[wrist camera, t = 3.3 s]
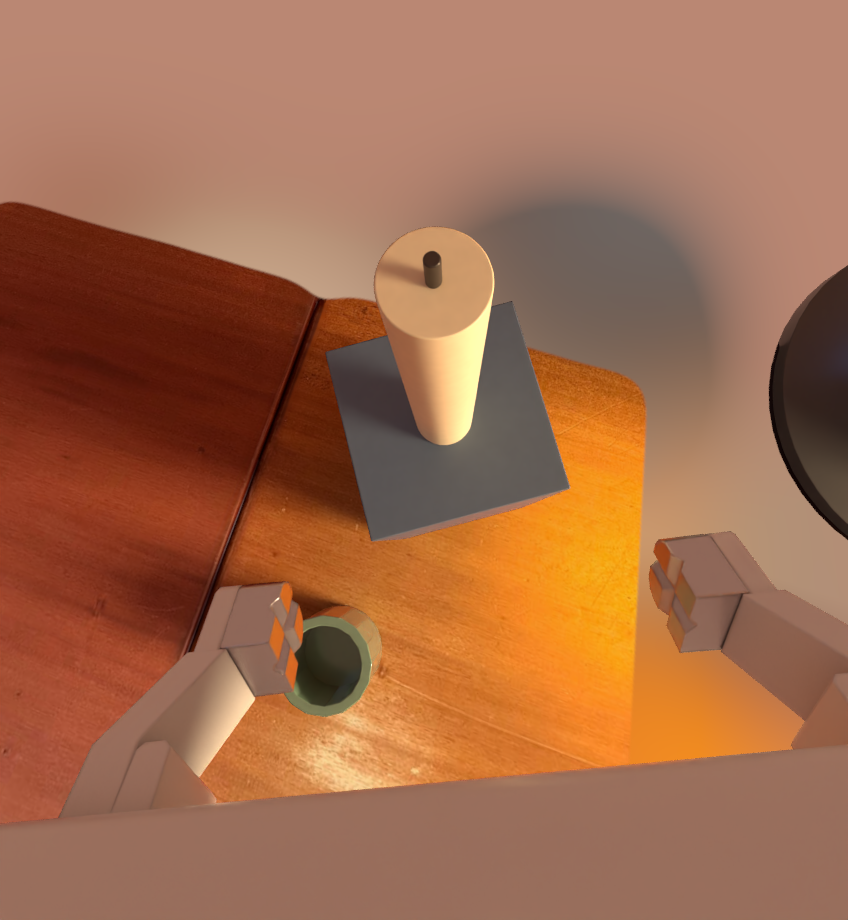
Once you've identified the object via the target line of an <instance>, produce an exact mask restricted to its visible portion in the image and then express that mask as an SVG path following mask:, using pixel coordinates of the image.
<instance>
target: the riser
mask: <svg viewBox="0 0 848 920" xmlns="http://www.w3.org/2000/svg"><path fill="white" fill-rule="evenodd" d="M325 354H326V358H327V362H328V366H329V370H330V374H331V378H332V382H333V386H334V390H335V395H336V399H337V403H338V407H339V411H340V415H341V419H342V423H343V427H344V431H345V436H346V440H347V444H348V448H349V452H350V456H351V460H352V464H353V468H354V472H355V476H356V481H357V485H358V489H359V493H360V497H361V501H362V505H363V509H364V513H365V517H366V522H367V526H368V530H369V534H370V538H371V541H383V540H396V539H406V538H410V537H413V536H417V535H421V534H425V533H428V532H432V531H436V530H440V529H443V528H447V527H451V526H455V525H458V524H462V523H466V522H470V521H473V520H477V519H481V518H485V517H488V516H492V515H496V514H500V513H503V512H507V511H511V510H515V509H518V508H522V507H525V506H527V505H530V504H532V503H535V502H537V501H540V500H542V499H545V498H547V497H550V496H552V495H555V494H557V493H560V492H562V491H565V490H567V489H570V485H569V482H568V479H567V475H566V472H565V469H564V466H563V462H562V459H561V456H560V453H559V450H558V446H557V443H556V440H555V437H554V433H553V430H552V427H551V424H550V420H549V417H548V414H547V411H546V408H545V404H544V401H543V398H542V395H541V391H540V388H539V385H538V382H537V378H536V375H535V372H534V369H533V366H532V362H531V359H530V356H529V353H528V349H527V346H526V343H525V340H524V337H523V333H522V330H521V327H520V324H519V320H518V317H517V314H516V311H515V307H514V304H513V302H512V301H511V302H507V303H503V304H499V305H496V306H492V307H491V310H490V316H489V321H488V327H487V333H486V339H485V345H484V351H483V357H482V363H481V369H480V375H479V381H478V387H477V393H476V399H475V405H474V411H473V417H472V422H471V426H470V429H469V431H468V432H467V434H466V435H465V436H464V437H463V438H462V439H461V440H459V441H458V442H456V443H453V444H450V445H437V444H434V443H432V442H430V441H428V440H427V439H425V438H424V437H423V436H422V435H421V433H420V432H419V430H418V427H417V424H416V421H415V418H414V415H413V412H412V409H411V406H410V403H409V400H408V397H407V394H406V391H405V388H404V384H403V381H402V378H401V375H400V372H399V369H398V366H397V363H396V360H395V357H394V354H393V351H392V348H391V345H390V341H389V338H388V335H386V336H382V337H379V338H375V339H371V340H368V341H364V342H361V343H357V344H353V345H350V346H346V347H342V348H339V349H335V350H331V351H328V352H326V353H325Z"/></svg>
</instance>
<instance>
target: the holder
mask: <svg viewBox="0 0 848 920" xmlns="http://www.w3.org/2000/svg"><path fill="white" fill-rule="evenodd" d="M381 654H382V643H381V638H380V634H379V631H378V629H377V627H376V626H375V624H374V622H373V621H372V620H371V619H370V618H369V617H368V616H367V615H366V614H365V613H363V612H362V611H360V610H358V609H356V608H353V607H350V606H342V605H341V606H333V607H329V608H326V609H324V610H321V611H319V612H317V613H315V614H313V615H312V616H310V617H308V618H306V619H305V620H303V638H302V645H301V647H300V648H299V649H298V650H297V651H296V652H295V653H294V655H295V658H296V660H297V662H298V668H297V674H296V679H295V685H294V690H293V692H288V693H284V694H285V696H286V697H287V699H288V700H289V702H290V703H291V704H292V705H294V706H295V707H297V708H298V709H300V710H301V711H303V712H304V713H307V714H310V715H316V716H322V717H328V716H332V715H335V714H339V713H343V712H344V711H346V710H347V709H349V708H350V707H351V706H352V705H354V704H355V703H356V702H358V701H359V700H360V698H361V696H362V695H363V693H364V691H365V689H366V688H367V686H368V684H369V682H370V681H371V679H372V677H373V675H374V674H375V672H376V670H377V668H378V666H379V663H380V659H381Z"/></svg>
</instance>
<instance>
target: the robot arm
mask: <svg viewBox="0 0 848 920" xmlns="http://www.w3.org/2000/svg"><path fill="white" fill-rule="evenodd" d="M654 553H655V555H656V558H657V559H658V560H656V561H655V562H654V563H653V564H652V565H651V566H650V572H649V582H650V590H651V593H652V596H653V599H654V601H655V603H656V605H657V607H658V608H659V609H660V610H661V611H663V612H664V613H666V614H667V615H669V618H668V621H667V628H668V630H669V632H670V634H671V636H672V637H673V640H674V641H675V644H676V646H677V648H678V650H679V652H680V653H682V652H695V651H709V650H721V652H722V653H723V654H725V655H726V656H727V657H728V658H729V659H731V660H732V661H733V662H734V663H736V664H737V665H738V666H739V667H740V668H741V669H743V670H744V671H745V672H746V673H748V674H749V675H750V676H751V677H752V678H754V679H755V680H756V681H757V682H758V683H760V684H761V685H762V686H763V687H765V688H766V689H767V690H768V691H769V692H771V693H772V694H773V695H774V696H775V697H777V698H778V699H779V700H780V701H782V702H783V703H784V704H785V705H787V706H788V707H789V708H790V709H791V710H792V711H794V712H795V713H796V714H797V715H799V716H800V717H801V718H802V719H803V720H805V722H804V724H803V725H802V727H801V728H800V730H799V732H798V733H797V735H796V736H795V738H794V740H793V742H792V744H791V746H792V748H793V750H782V751H771V752H761V753H752V754H740V755H729V756H719V757H707V758H696V759H685V760H674V761H664V762H653V763H642V764H631V765H620V766H610V767H599V768H588V769H577V770H566V771H556V772H545V773H534V774H523V775H513V776H502V777H491V778H481V779H470V780H459V781H448V782H438V783H427V784H416V785H406V786H395V787H384V788H374V789H363V790H352V791H342V792H331V793H320V794H310V795H299V796H288V797H278V798H267V799H256V800H246V801H235V802H224V803H216V800H217V799H216V798H215V796H214V794H213V793H212V792H211V791H210V789H209V788H208V787H207V786H206V785H205V784H204V783H203V782H202V780H201V779H200V778H199V777H200V776H201V774H202V773H203V771H204V770H205V769H206V767H207V766H208V764H209V763H210V762H211V760H212V759H213V758H214V756H215V755H216V753H217V752H218V751H219V749H220V748H221V746H222V745H223V744H224V742H225V741H226V739H227V738H228V737H229V735H230V734H231V732H232V731H233V730H234V728H235V727H236V726H237V724H238V723H239V721H240V720H241V719H242V717H243V716H244V714H245V713H246V712H247V710H248V709H249V707H250V706H251V705H252V703H253V702H254V700H255V697H258V696H265V695H273V694H281V693H288V692H293V690H294V685H295V679H296V674H297V668H298V662H297V660H296V658H295V655H294V653H295V652H296V651H297V650H298V649H299V648H300V647H301V645H302V638H303V617H302V612H301V609H300V607H299V604H298V603H296V602H294V601H293V600H291V599H292V594H293V590H292V588H291V586H290V584H289V582H286V581H283V582H271V583H259V584H248V585H239V586H228V587H220V588H219V589H218V591H217V592H216V593H215V595H214V598H213V600H212V603H211V606H210V609H209V611H208V614H207V617H206V620H205V622H204V625H203V628H202V631H201V633H200V636H199V639H198V642H197V644H196V647H195V650H194V652H189V653H186V654H185V655H184V656H183V657H182V658H181V659H180V660H179V661H178V662H177V663H176V664H175V665H174V666H173V667H172V668H171V669H170V670H169V671H168V672H167V673H166V674H165V675H164V676H163V677H162V678H161V679H160V680H159V681H158V682H157V683H156V684H155V685H154V686H152V687H151V688H150V689H149V690H148V691H147V692H146V693H145V694H144V695H143V696H142V697H141V698H140V699H139V700H138V701H137V702H136V703H135V704H134V705H133V706H132V707H131V708H130V709H129V710H128V711H127V712H126V713H125V714H124V715H123V716H122V717H121V718H120V719H118V720H117V721H116V722H115V723H114V724H113V725H112V726H111V727H110V728H109V729H108V730H107V731H106V732H105V733H104V734H103V735H102V736H101V737H100V738H99V739H98V740H97V741H96V742H95V743H94V744H93V745H92V746H91V749H90V751H89V753H88V755H87V757H86V759H85V761H84V764H83V766H82V768H81V770H80V772H79V774H78V776H77V779H76V781H75V783H74V785H73V787H72V789H71V792H70V794H69V796H68V798H67V800H66V802H65V804H64V807H63V809H62V811H61V813H60V815H59V817H58V818H53V819H43V820H32V821H21V822H11V823H0V920H848V625H847V624H846V623H844V622H842V621H840V620H838V619H836V618H835V617H833V616H831V615H829V614H827V613H826V612H824V611H822V610H820V609H819V608H817V607H815V606H813V605H811V604H810V603H808V602H806V601H804V600H802V599H801V598H799V597H797V596H795V595H793V594H792V593H790V592H788V591H786V590H777V589H776V587H775V586H774V585H773V584H772V582H771V581H770V580H769V578H768V577H767V576H766V574H765V573H764V572H763V570H762V569H761V568H760V566H759V565H758V564H757V562H756V561H755V560H754V558H753V557H752V556H751V555H750V553H749V552H748V550H747V549H746V548H745V546H744V545H743V544H742V542H741V541H740V540H739V538H738V537H737V536H736V535H735V534H734V533H732V532H731V531H729V532H721V533H711V534H705V535H704V534H700V535H692V536H683V537H676V538H667V539H659V540H658V541H657V542H656V544H655V548H654Z"/></svg>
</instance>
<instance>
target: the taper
mask: <svg viewBox="0 0 848 920" xmlns="http://www.w3.org/2000/svg"><path fill="white" fill-rule="evenodd" d="M493 292H494V273H493V269H492V265H491V263H490V260H489V258H488V256H487V255H486V253H485V252H484V250H483V249H482V248H481V247H480V245H479V244H477V242H476V241H474V240H473V239H472V238H471V237H469V236H467V235H466V234H464V233H462V232H459V231H457V230H454V229H450V228H446V227H425V228H420V229H417V230H414V231H411V232H409V233H407V234H405V235H403V236H402V237H400V238H398V239H397V240H396V241H395V242H394V243H392V244H391V245H390V246H389V248H388V249H387V250H386V251H385V253H384V254H383V256H382V257H381V259H380V261H379V263H378V266H377V268H376V272H375V276H374V293H375V298H376V302H377V305H378V308H379V311H380V314H381V317H382V320H383V323H384V326H385V329H386V332H387V335H388V338H389V341H390V345H391V348H392V351H393V354H394V357H395V360H396V363H397V366H398V369H399V372H400V375H401V378H402V381H403V384H404V388H405V391H406V394H407V397H408V400H409V403H410V406H411V409H412V412H413V415H414V418H415V421H416V424H417V427H418V430H419V432H420V433H421V435H422V436H423V437H424V438H425V439H427V440H428V441H430V442H432V443H434V444H437V445H450V444H453V443H456V442H458V441H459V440H461V439H462V438H463V437H464V436H465V435H466V434H467V432H468V431H469V429H470V426H471V422H472V417H473V411H474V405H475V399H476V393H477V387H478V381H479V375H480V369H481V363H482V357H483V351H484V345H485V339H486V333H487V327H488V321H489V316H490V310H491V303H492V298H493Z"/></svg>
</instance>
